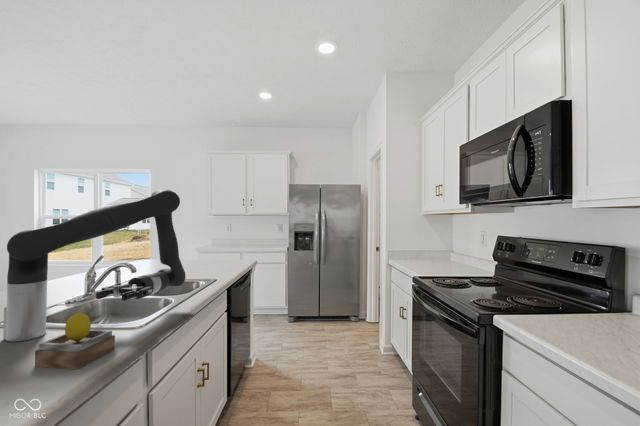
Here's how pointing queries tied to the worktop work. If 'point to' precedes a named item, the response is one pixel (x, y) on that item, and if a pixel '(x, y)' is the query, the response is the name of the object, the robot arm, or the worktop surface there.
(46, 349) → the square wooden box
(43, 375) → the worktop surface
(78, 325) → the lemon
